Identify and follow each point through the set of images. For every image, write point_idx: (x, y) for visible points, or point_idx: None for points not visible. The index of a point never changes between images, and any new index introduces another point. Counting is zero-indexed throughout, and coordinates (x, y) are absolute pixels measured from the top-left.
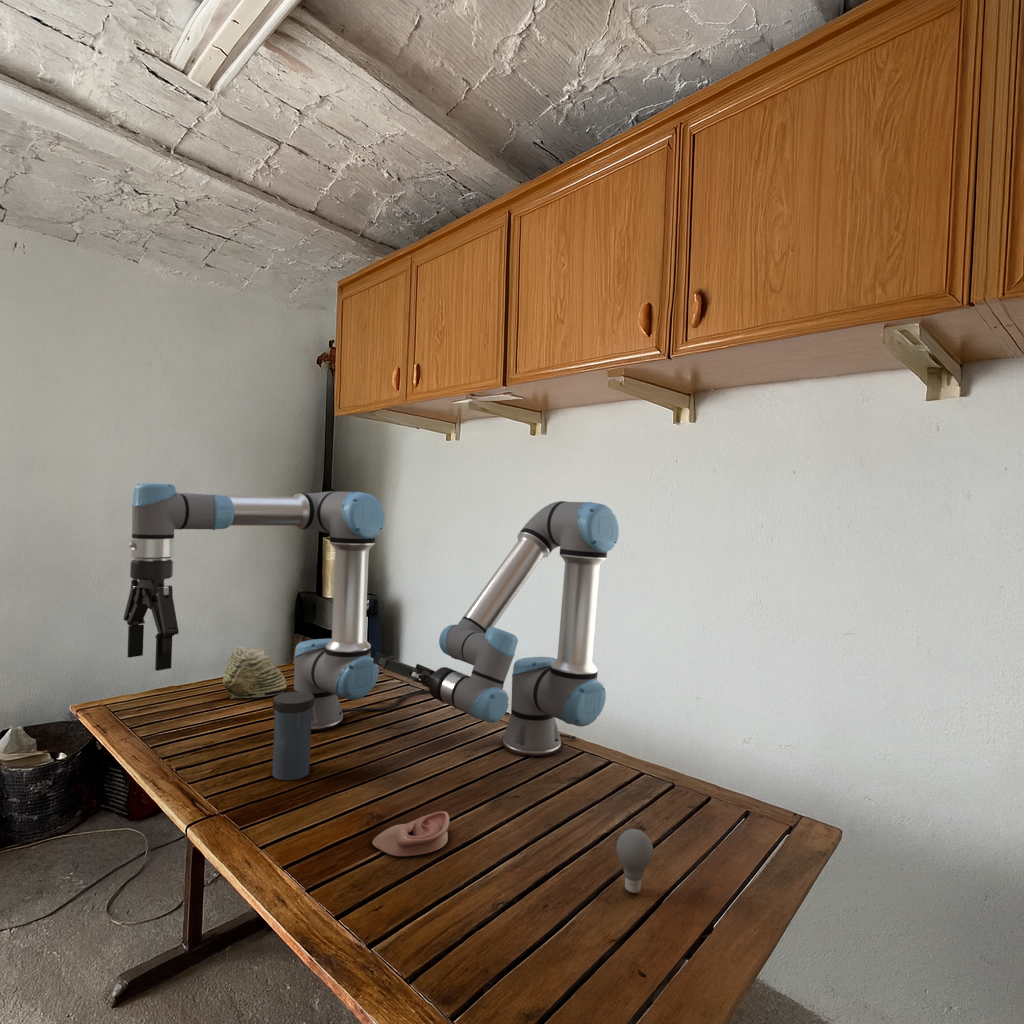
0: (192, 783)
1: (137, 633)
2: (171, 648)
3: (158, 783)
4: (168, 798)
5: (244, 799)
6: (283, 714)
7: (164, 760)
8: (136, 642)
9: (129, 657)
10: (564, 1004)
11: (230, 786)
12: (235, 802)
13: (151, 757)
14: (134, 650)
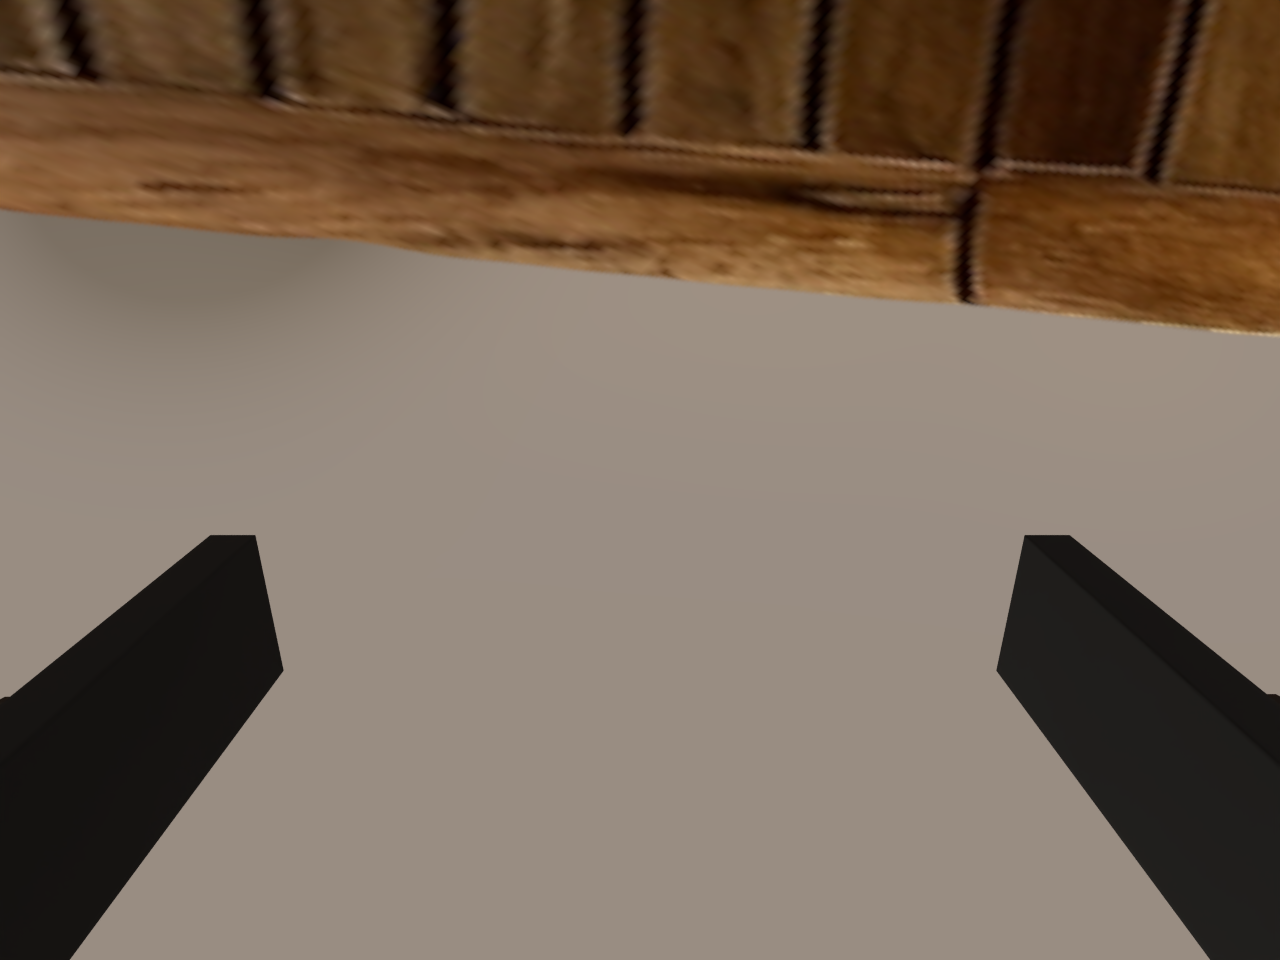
0: (640, 121)
1: (65, 819)
2: (1248, 687)
3: (539, 230)
4: (705, 260)
5: (958, 27)
6: None
7: (297, 99)
8: (170, 718)
9: (281, 665)
10: None
11: (795, 3)
12: (950, 73)
13: (223, 131)
14: (233, 666)
